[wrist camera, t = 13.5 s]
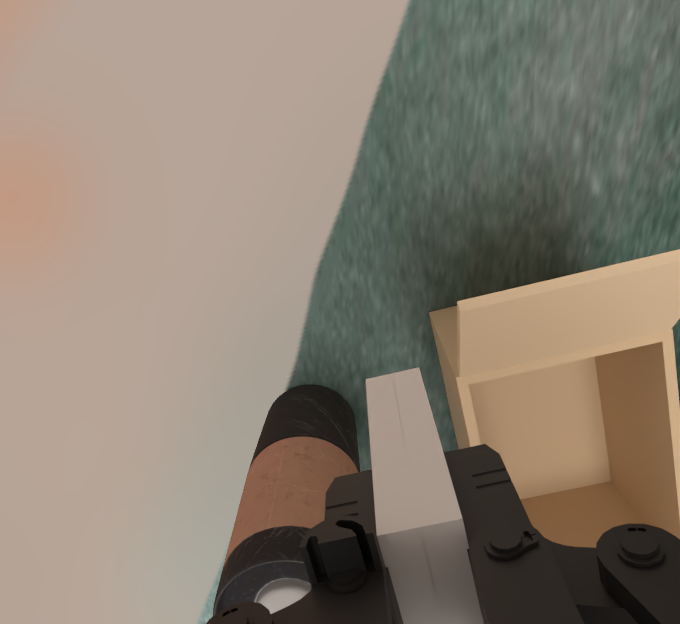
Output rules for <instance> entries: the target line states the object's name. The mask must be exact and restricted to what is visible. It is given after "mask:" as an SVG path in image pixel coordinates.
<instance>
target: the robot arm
mask: <svg viewBox="0 0 680 624" xmlns="http://www.w3.org/2000/svg"><path fill="white" fill-rule="evenodd" d="M365 380H366V394H367V408H368V422H369V436H370V449H371V463H372V470H367V471H363V472H358V473H353V474H349V475H344V476H339V477H335V479H334V480H333V482H332V483H331V485H330V487H329V488H328V490H327V491H326V499H325V517H324V521H322V522H320V523H319V524H317V525H316V526H314V527H312V528H311V529H310V530H309V531H308V532H307V534H306V535H305V536H304V537H303V539H302V541H301V544H300V547H299V549H300V552H301V555H302V558H303V561H304V564H305V567H306V570H307V573H308V576H309V579H310V583H311V590H310V591H309V593H307V594H306V595H305V596H304V597H302V598H301V599H300V600H298V601H296V602H295V603H293V604H291V605H289V606H287V607H285V608H283V609H281V610H279V611H277V612H274V613H272V614H270V611H269V609H267V608H266V607H265V606H264V605H262V604H261V603H256V602H251V601H247V602H241V603H235V604H233V605H231V606H229V607H227V608H225V609H222V610H221V611H220V612H218V613H217V614H216V615H215V616H213V617H212V618H211V619H209V621H208V622H207V623H206V624H680V539H679V538H677V537H676V536H674V535H673V534H671V533H669V532H667V531H666V530H664V529H662V528H659V527H655V526H651V525H648V524H624V525H620V526H615V527H613V528H611V529H609V530H608V531H606V532H604V533H603V534H602V535H601V537H600V538H599V540H598V541H597V543H596V548H591V547H574V546H566V545H562V544H558V543H555V542H552V541H550V540H548V539H546V538H544V537H543V536H542V534H541V533H540V532H539V531H538V529H536V528H534V527H533V526H532V524H531V522H530V520H529V518H528V515H527V513H526V511H525V509H524V507H523V504H522V502H521V500H520V498H519V496H518V493H517V491H516V489H515V487H514V485H513V482H512V481H511V478H510V476H509V474H508V471H507V470H506V467H505V465H504V462H503V460H502V458H501V456H500V454H499V453H498V452H496V451H495V450H493V449H492V448H490V447H489V446H488V445H486V444H482V445H477V446H472V447H468V448H463V449H458V450H454V451H449V452H444V453H443V449H442V446H441V442H440V439H439V435H438V432H437V428H436V425H435V421H434V418H433V414H432V411H431V407H430V404H429V401H428V397H427V394H426V390H425V387H424V383H423V380H422V376H421V373H420V369H419V367H418V368H414V369H409V370H405V371H400V372H396V373H391V374H387V375H383V376H378V377H374V378H369V379H365Z"/></svg>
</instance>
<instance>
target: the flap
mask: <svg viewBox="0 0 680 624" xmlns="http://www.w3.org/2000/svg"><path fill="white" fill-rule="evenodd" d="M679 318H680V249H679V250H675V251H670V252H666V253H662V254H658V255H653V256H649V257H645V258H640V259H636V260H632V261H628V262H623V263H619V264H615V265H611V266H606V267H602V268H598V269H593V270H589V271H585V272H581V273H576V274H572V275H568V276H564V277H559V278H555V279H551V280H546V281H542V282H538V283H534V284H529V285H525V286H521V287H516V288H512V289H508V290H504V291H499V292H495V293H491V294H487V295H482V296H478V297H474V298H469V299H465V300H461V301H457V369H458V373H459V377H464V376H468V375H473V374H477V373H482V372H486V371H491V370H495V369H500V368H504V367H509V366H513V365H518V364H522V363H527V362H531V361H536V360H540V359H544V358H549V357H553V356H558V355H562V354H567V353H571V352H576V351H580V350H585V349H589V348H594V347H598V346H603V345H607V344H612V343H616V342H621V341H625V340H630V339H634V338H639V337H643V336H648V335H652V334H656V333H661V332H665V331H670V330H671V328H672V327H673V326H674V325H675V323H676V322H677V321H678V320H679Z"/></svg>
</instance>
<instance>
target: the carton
mask: <svg viewBox="0 0 680 624" xmlns="http://www.w3.org/2000/svg"><path fill="white" fill-rule="evenodd" d="M429 316H430V321H431V326H432V330H433V335H434V339H435V344H436V349H437V353H438V358H439V362H440V367H441V371H442V376H443V381H444V385H445V390H446V394H447V399H448V404H449V408H450V413H451V417H452V422H453V427H454V431H455V436H456V440H457V445H458V449H463V448H468V447H472V446H477V445H482V444H486V445H488V446H489V447H490V448H492V449H493V450H495V451H496V452H498V453H499V454H500V456H501V458H502V460H503V462H504V465H505V467H506V470H507V471H508V474H509V476H510V478H511V481H512V482H513V485H514V487H515V489H516V491H517V493H518V496H519V498H520V500H521V502H522V504H523V507H524V509H525V511H526V513H527V515H528V518H529V520H530V522H531V524H532V526H533V527H534V528H536V529H538V531H539V532H540V533H541V534H542V536H543V537H544V538H546V539H548V540H550V541H552V542H555V543H558V544H562V545H566V546H574V547H591V548H596V543H597V541H598V540H599V538H600V537H601V535H602V534H603V533H604V532H606V531H608V530H609V529H611V528H613V527H615V526H620V525H624V524H648V525H651V526H655V527H659V528H662V529H664V530H666V531H667V532H669V533H671V534H673V535H674V536H676V537H677V538H679V539H680V406H679V395H678V384H677V373H676V362H675V351H674V340H673V329H672V328H671V330H670V331H665V332H661V333H656V334H652V335H648V336H643V337H639V338H634V339H630V340H625V341H621V342H616V343H612V344H607V345H603V346H598V347H594V348H589V349H585V350H580V351H576V352H571V353H567V354H562V355H558V356H553V357H549V358H544V359H540V360H536V361H531V362H527V363H522V364H518V365H513V366H509V367H504V368H500V369H495V370H491V371H486V372H482V373H477V374H473V375H468V376H464V377H459V373H458V369H457V306H453V307H449V308H445V309H440V310H436V311H432V312H429Z"/></svg>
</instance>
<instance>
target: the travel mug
mask: <svg viewBox="0 0 680 624" xmlns="http://www.w3.org/2000/svg"><path fill="white" fill-rule="evenodd" d="M358 472H360V465H359V454H358V444H357V433H356V424H355V419H354V415H353V412H352V410H351V408H350V406H349V405H348V403H347V402H346V401H345V400H344V399H343V398H342V397H341V396H340V395H339V394H338V393H336V392H335V391H333V390H331V389H329V388H326V387H322V386H318V385H303V386H298V387H294V388H292V389H290V390H288V391H286V392H284V393H283V394H282V395H280V396H279V397H278V398H277V399H276V400H275V402H274V403H273V404H272V406H271V408H270V410H269V412H268V415H267V418H266V421H265V424H264V426H263V429H262V432H261V435H260V438H259V441H258V444H257V447H256V450H255V453H254V456H253V459H252V462H251V465H250V468H249V472H248V474H247V478H246V482H245V486H244V490H243V493H242V498H241V501H240V505H239V509H238V513H237V517H236V521H235V524H234V528H233V532H232V536H231V540H230V544H229V548H228V551H227V555H226V559H225V563H224V567H223V571H222V575H221V578H220V582H219V586H218V590H217V594H216V598H215V603H214V608H213V616H215V615H216V614H217V613H218V612H220V611H221V610H222V609H225V608H227V607H229V606H231V605H233V604H235V603H241V602H247V601H251V602H256V603H261V604H262V605H264V606H265V607H266V608H267V609H269V611H270V614H272V613H274V612H277V611H279V610H281V609H283V608H285V607H287V606H289V605H291V604H293V603H295V602H296V601H298V600H300V599H301V598H302V597H304V596H305V595H306V594H307V593H309V591H310V590H311V583H310V579H309V576H308V573H307V570H306V567H305V564H304V561H303V558H302V555H301V552H300V549H299V547H300V544H301V541H302V539H303V537H304V536H305V535H306V534H307V532H308V531H309V530H310V529H311V528H312V527H314V526H316V525H317V524H319V523H320V522H322V521H324V517H325V499H326V491H327V490H328V488H329V487H330V485H331V483H332V482H333V480H334V479H335V477H339V476H344V475H349V474H353V473H358Z"/></svg>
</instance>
